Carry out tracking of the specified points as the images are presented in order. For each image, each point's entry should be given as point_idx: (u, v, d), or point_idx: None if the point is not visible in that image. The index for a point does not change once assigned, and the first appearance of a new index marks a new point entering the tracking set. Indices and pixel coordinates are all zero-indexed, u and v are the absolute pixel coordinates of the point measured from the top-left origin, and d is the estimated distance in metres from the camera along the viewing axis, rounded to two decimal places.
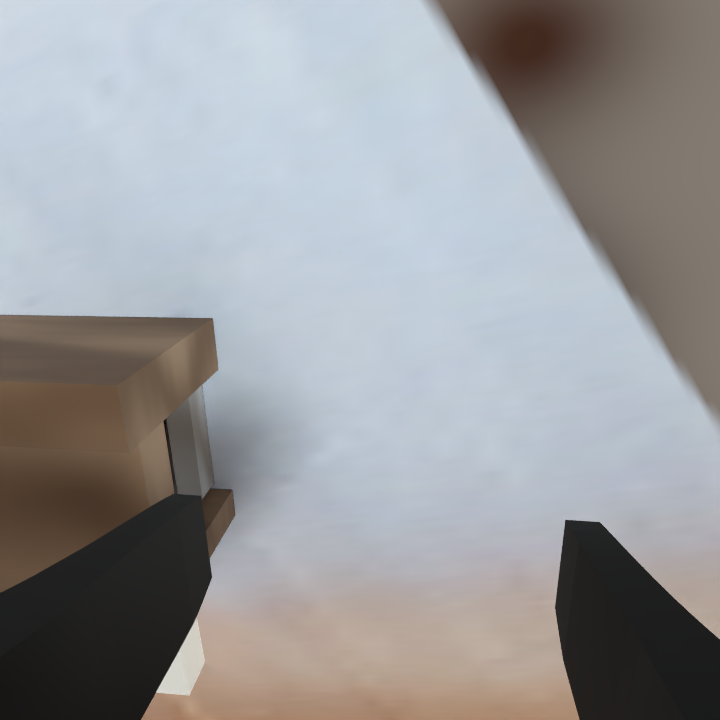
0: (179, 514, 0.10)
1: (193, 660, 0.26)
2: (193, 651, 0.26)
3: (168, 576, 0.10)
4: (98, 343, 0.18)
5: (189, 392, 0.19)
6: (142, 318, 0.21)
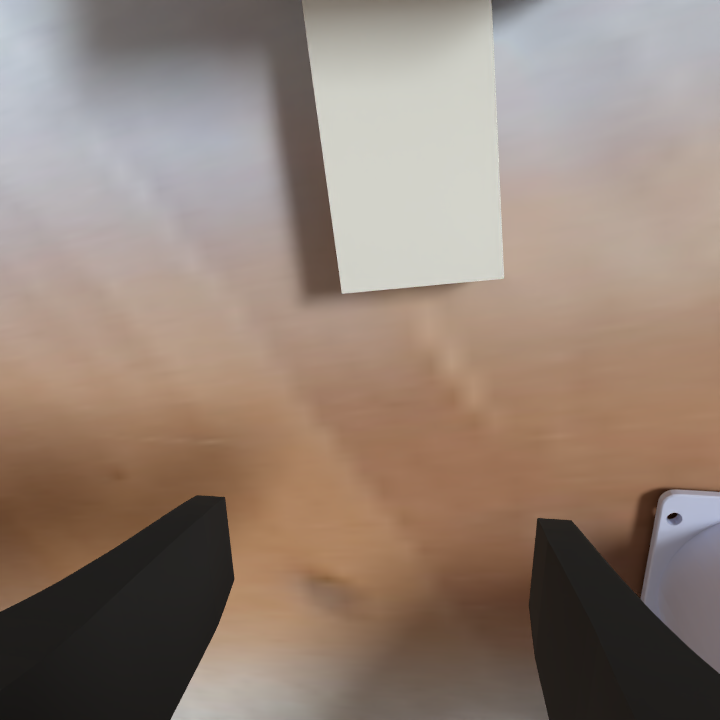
0: (205, 516, 0.10)
1: None
2: None
3: (194, 578, 0.10)
4: None
5: None
6: None
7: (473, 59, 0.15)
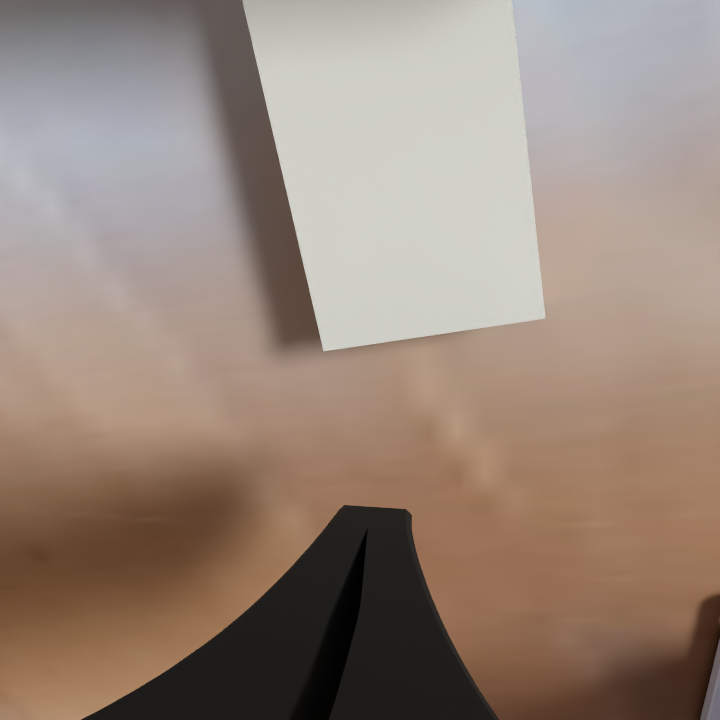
0: (369, 528, 0.10)
1: None
2: None
3: (362, 593, 0.10)
4: None
5: None
6: None
7: (482, 12, 0.11)
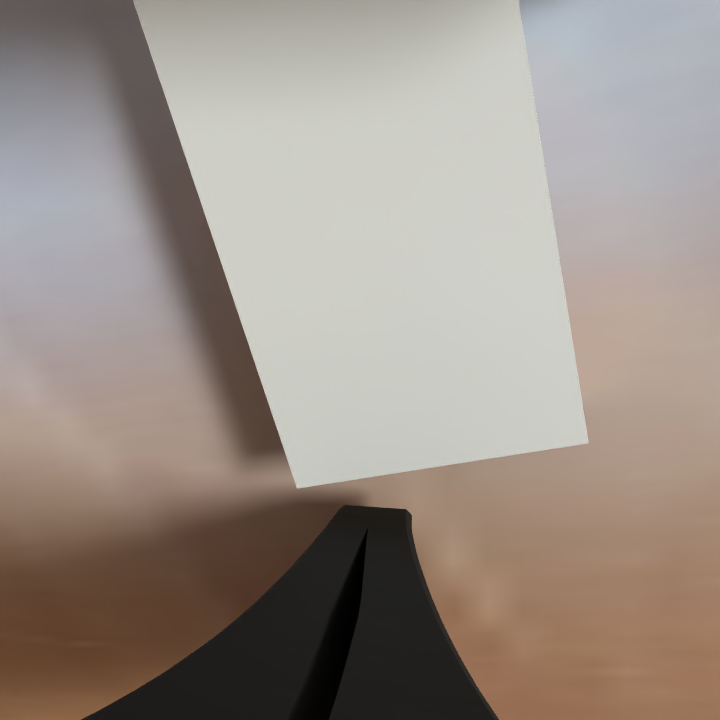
0: (369, 528, 0.10)
1: None
2: None
3: (362, 593, 0.10)
4: None
5: None
6: None
7: (481, 44, 0.07)
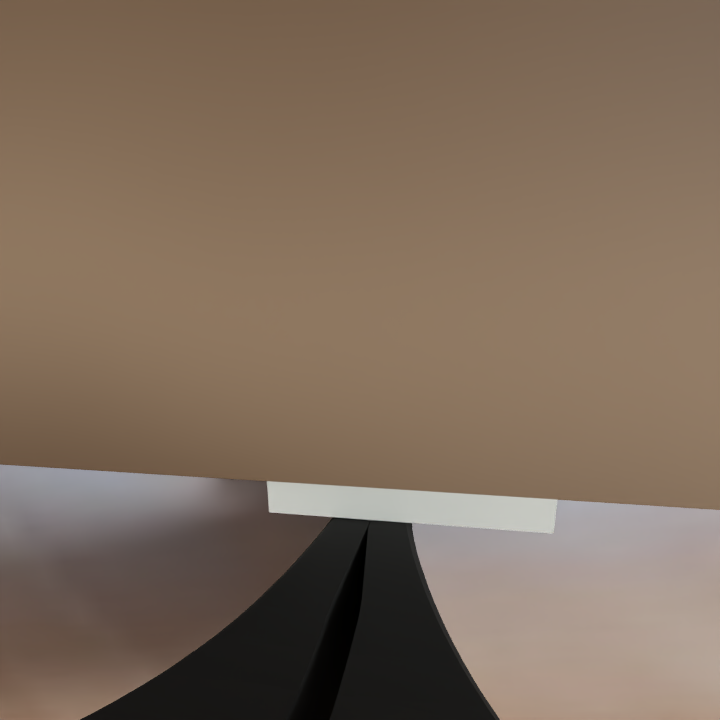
0: (368, 528, 0.10)
1: None
2: None
3: (361, 593, 0.10)
4: None
5: None
6: None
7: None
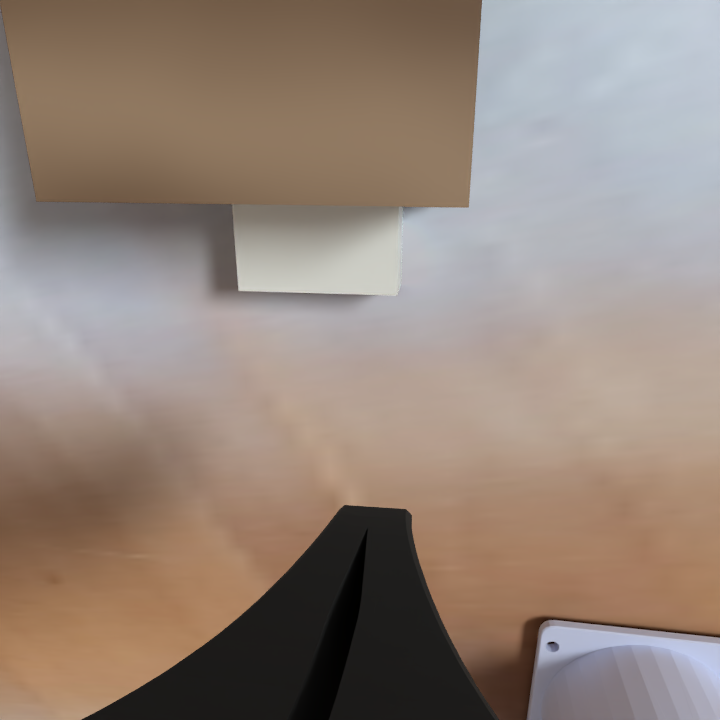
0: (369, 528, 0.10)
1: (399, 255, 0.18)
2: (400, 242, 0.18)
3: (362, 593, 0.10)
4: None
5: None
6: None
7: None
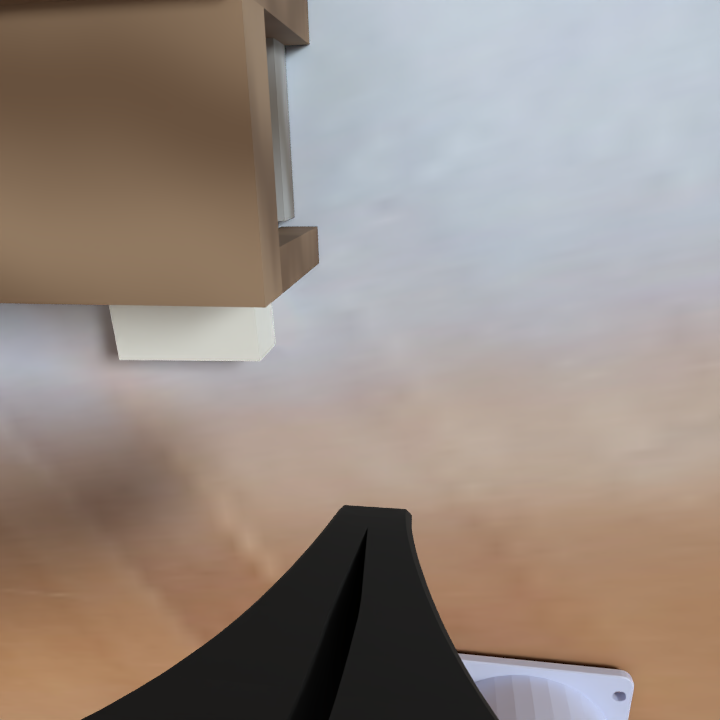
0: (369, 528, 0.10)
1: (264, 322, 0.19)
2: (264, 310, 0.19)
3: (362, 593, 0.10)
4: None
5: (286, 20, 0.15)
6: None
7: None
